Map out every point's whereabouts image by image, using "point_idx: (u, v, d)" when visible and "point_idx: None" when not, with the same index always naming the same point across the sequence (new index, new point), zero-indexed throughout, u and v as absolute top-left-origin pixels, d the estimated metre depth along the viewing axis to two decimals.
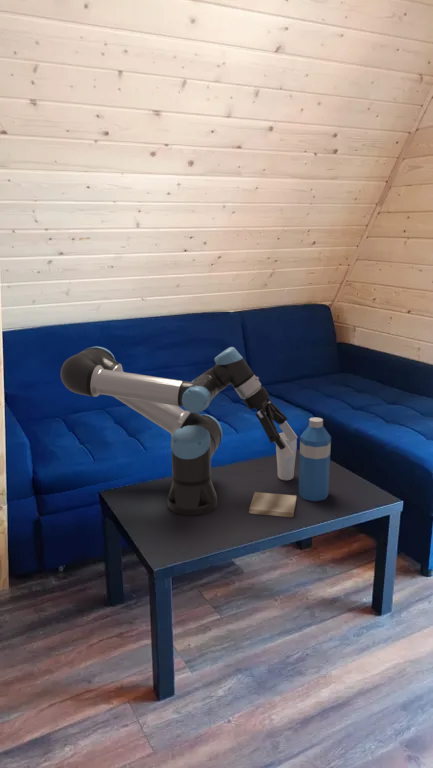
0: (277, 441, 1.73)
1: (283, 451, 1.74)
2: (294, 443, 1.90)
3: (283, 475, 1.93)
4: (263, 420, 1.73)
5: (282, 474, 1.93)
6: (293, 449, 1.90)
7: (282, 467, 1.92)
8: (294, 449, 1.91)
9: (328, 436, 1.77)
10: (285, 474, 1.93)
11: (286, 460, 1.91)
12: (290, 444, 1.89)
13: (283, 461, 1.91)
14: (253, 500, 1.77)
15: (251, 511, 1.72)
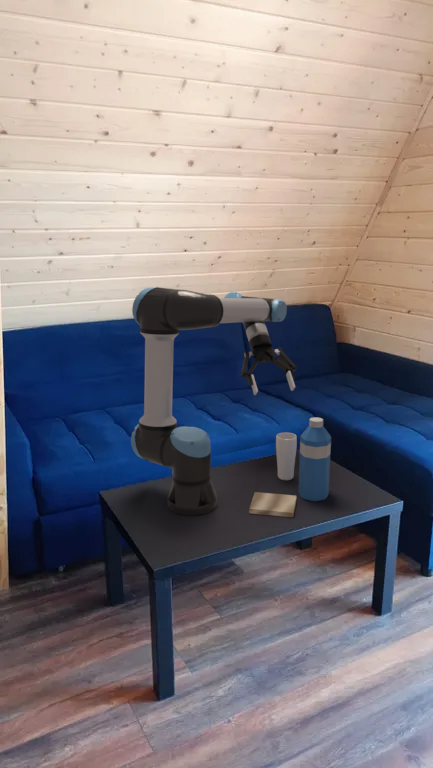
0: None
1: None
2: (294, 443, 1.90)
3: (283, 475, 1.93)
4: None
5: (282, 474, 1.93)
6: (293, 449, 1.90)
7: (282, 467, 1.92)
8: (294, 449, 1.91)
9: (328, 436, 1.77)
10: (285, 474, 1.93)
11: (286, 460, 1.91)
12: (290, 444, 1.89)
13: (283, 461, 1.91)
14: (253, 500, 1.77)
15: (251, 511, 1.72)
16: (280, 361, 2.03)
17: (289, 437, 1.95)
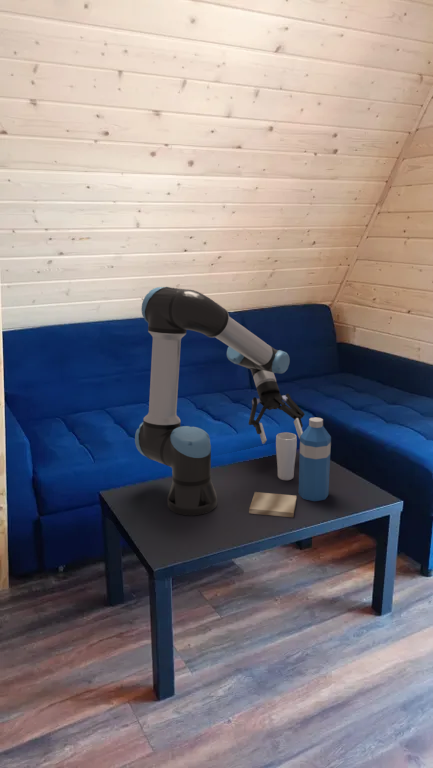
0: None
1: None
2: (294, 443, 1.90)
3: (283, 475, 1.93)
4: None
5: (282, 474, 1.93)
6: (293, 449, 1.90)
7: (282, 467, 1.92)
8: (294, 449, 1.91)
9: (328, 436, 1.77)
10: (285, 474, 1.93)
11: (286, 460, 1.91)
12: (290, 444, 1.89)
13: (283, 461, 1.91)
14: (253, 500, 1.77)
15: (251, 511, 1.72)
16: (288, 408, 2.03)
17: (289, 437, 1.95)
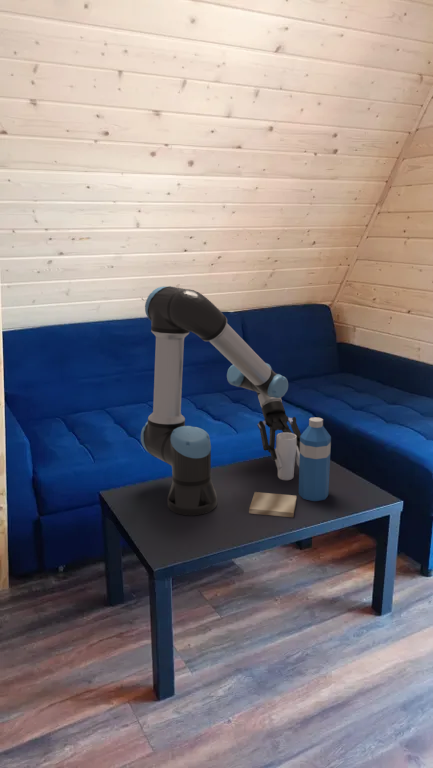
0: None
1: None
2: (294, 443, 1.90)
3: (283, 475, 1.93)
4: None
5: (282, 474, 1.93)
6: (293, 449, 1.90)
7: (282, 467, 1.92)
8: (294, 449, 1.91)
9: (328, 436, 1.77)
10: (285, 474, 1.93)
11: (286, 460, 1.91)
12: (290, 444, 1.89)
13: (283, 461, 1.91)
14: (253, 500, 1.77)
15: (251, 511, 1.72)
16: (290, 432, 1.96)
17: (289, 437, 1.95)
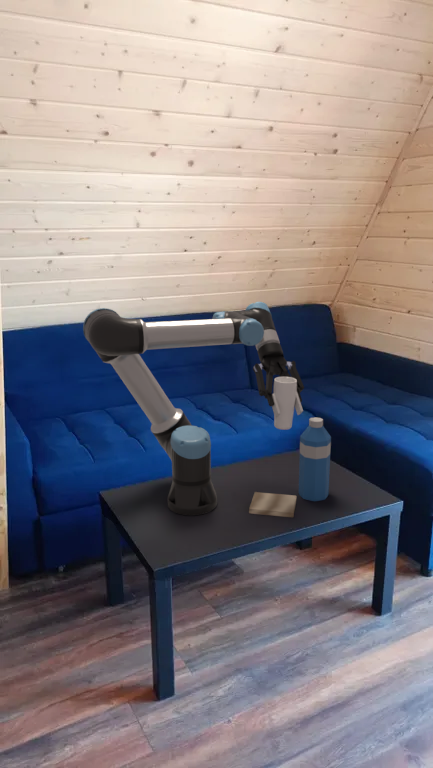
0: None
1: None
2: (294, 387, 1.70)
3: (280, 424, 1.73)
4: None
5: (280, 422, 1.73)
6: (293, 394, 1.70)
7: (280, 414, 1.72)
8: (294, 394, 1.71)
9: (328, 436, 1.77)
10: (283, 422, 1.73)
11: (285, 406, 1.71)
12: (290, 388, 1.69)
13: (281, 407, 1.71)
14: (253, 500, 1.77)
15: (251, 511, 1.72)
16: None
17: (288, 382, 1.75)
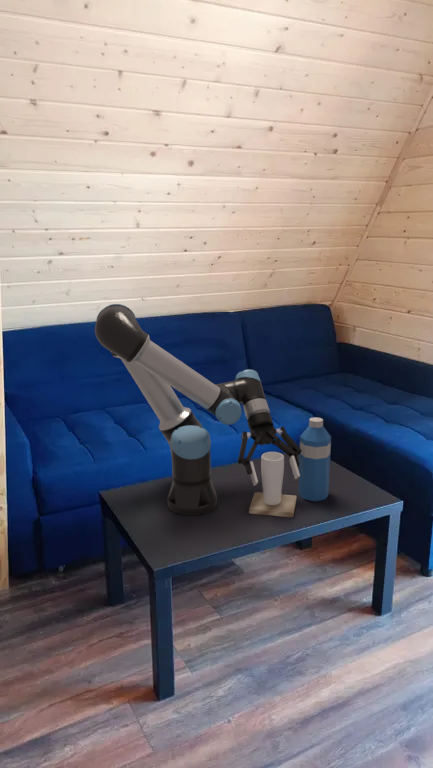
0: None
1: None
2: (281, 464, 1.70)
3: (269, 500, 1.73)
4: None
5: (268, 498, 1.73)
6: (280, 471, 1.70)
7: (268, 491, 1.72)
8: (281, 471, 1.71)
9: (328, 436, 1.77)
10: (272, 498, 1.73)
11: (272, 483, 1.71)
12: (276, 466, 1.69)
13: (269, 484, 1.71)
14: (253, 500, 1.77)
15: (251, 511, 1.72)
16: (282, 444, 1.77)
17: (276, 457, 1.75)
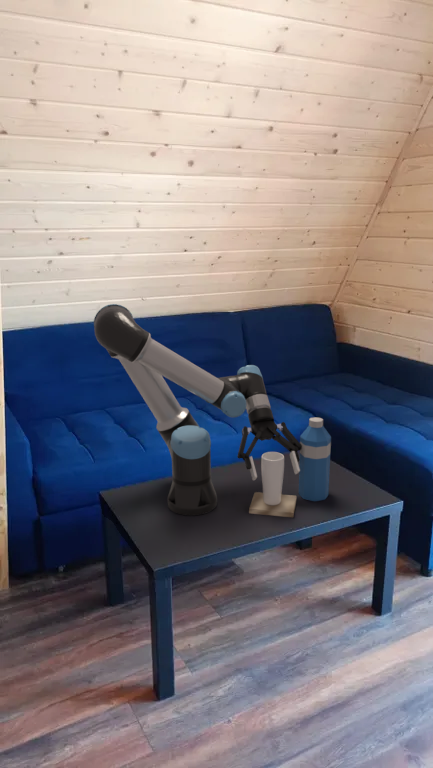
0: None
1: None
2: (281, 464, 1.70)
3: (269, 500, 1.73)
4: None
5: (268, 498, 1.73)
6: (280, 471, 1.70)
7: (268, 491, 1.72)
8: (281, 471, 1.71)
9: (328, 436, 1.77)
10: (272, 498, 1.73)
11: (272, 483, 1.71)
12: (276, 466, 1.69)
13: (269, 484, 1.71)
14: (253, 500, 1.77)
15: (251, 511, 1.72)
16: (283, 439, 1.78)
17: (276, 457, 1.75)
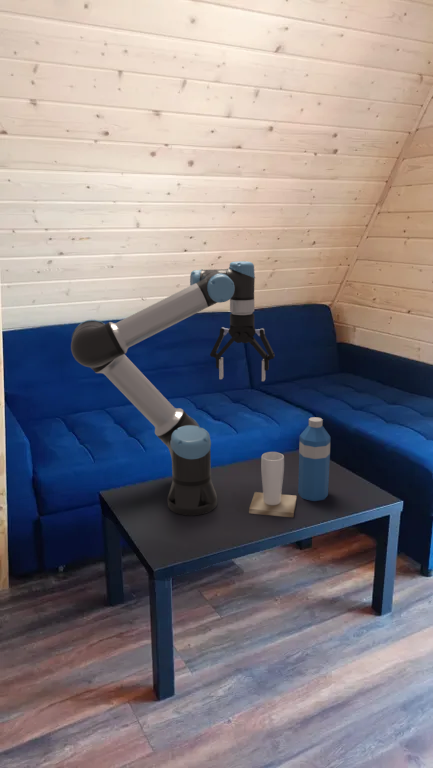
0: (268, 361, 1.82)
1: (264, 373, 1.83)
2: (281, 464, 1.70)
3: (269, 500, 1.73)
4: (265, 337, 1.80)
5: (268, 498, 1.73)
6: (280, 471, 1.70)
7: (268, 491, 1.72)
8: (281, 471, 1.71)
9: (327, 436, 1.77)
10: (272, 498, 1.73)
11: (272, 483, 1.71)
12: (276, 466, 1.69)
13: (269, 484, 1.71)
14: (253, 500, 1.77)
15: (251, 511, 1.72)
16: (256, 347, 1.80)
17: (276, 457, 1.75)
